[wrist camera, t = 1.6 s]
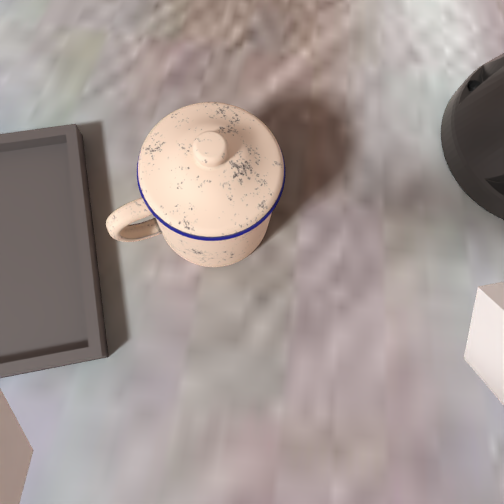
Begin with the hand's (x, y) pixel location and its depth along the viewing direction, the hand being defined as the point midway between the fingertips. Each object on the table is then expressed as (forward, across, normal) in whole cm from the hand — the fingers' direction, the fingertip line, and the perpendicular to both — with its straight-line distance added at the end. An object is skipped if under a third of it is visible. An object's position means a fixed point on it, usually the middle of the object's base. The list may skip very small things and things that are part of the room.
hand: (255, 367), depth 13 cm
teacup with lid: (+24, -1, -7) cm, 24 cm away
